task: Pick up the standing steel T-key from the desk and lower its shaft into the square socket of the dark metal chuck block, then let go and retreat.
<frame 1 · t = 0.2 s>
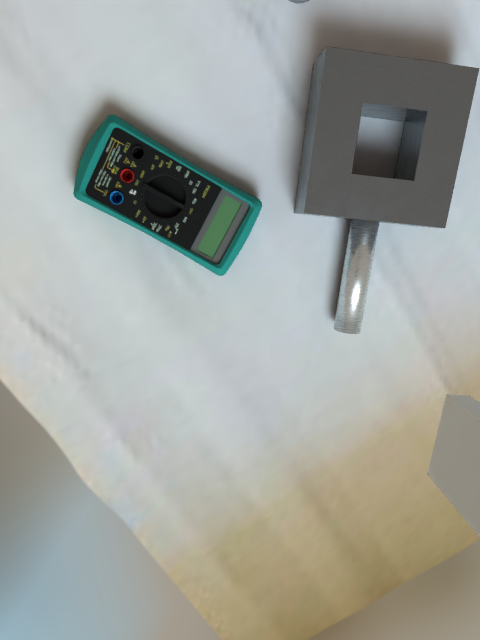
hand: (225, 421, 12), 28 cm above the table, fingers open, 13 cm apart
digital multimeter: (171, 200, 38), on the table
chuck block: (370, 149, 37), on the table
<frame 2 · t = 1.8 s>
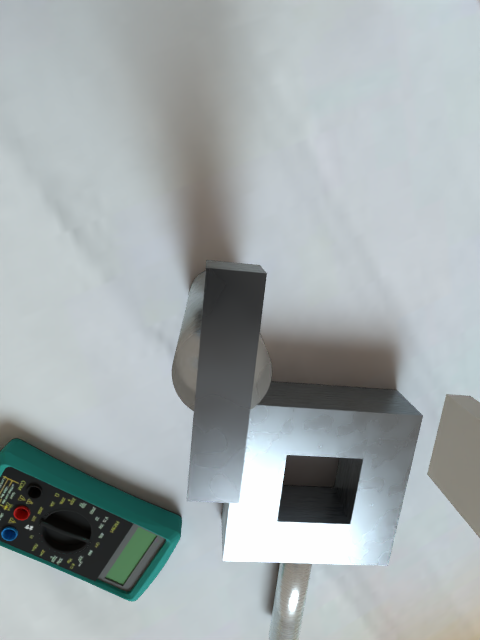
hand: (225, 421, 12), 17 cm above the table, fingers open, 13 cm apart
t key: (216, 294, 29), on the table
digital multimeter: (82, 508, 33), on the table
chuck block: (306, 456, 32), on the table
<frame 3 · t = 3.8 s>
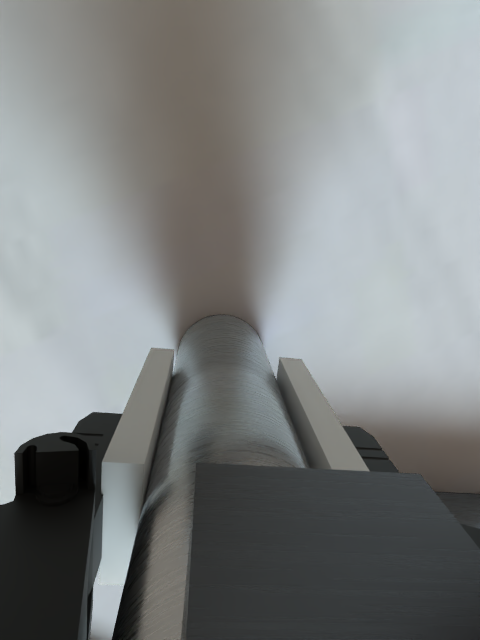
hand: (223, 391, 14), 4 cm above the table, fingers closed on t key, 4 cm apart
t key: (221, 356, 18), on the table, touching gripper
chuck block: (356, 591, 21), on the table
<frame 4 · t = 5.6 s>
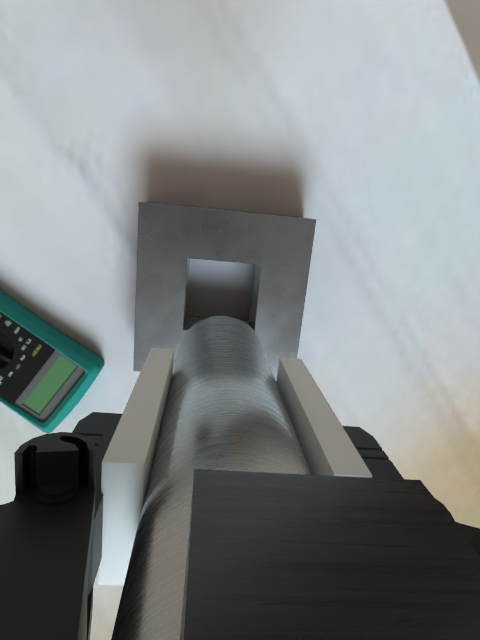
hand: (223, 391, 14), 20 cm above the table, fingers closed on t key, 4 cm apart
t key: (220, 357, 18), point 17 cm above the table, touching gripper
digital multimeter: (10, 340, 35), on the table
chuck block: (220, 287, 34), on the table
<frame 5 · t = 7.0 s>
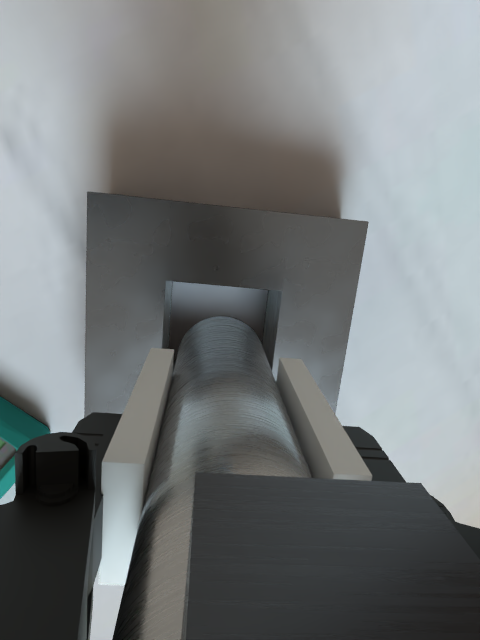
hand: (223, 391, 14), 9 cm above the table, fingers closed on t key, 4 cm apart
t key: (220, 357, 18), point 6 cm above the table, touching gripper
chuck block: (217, 319, 23), on the table
when the fingers open (5 cm above the table, at t = 7.9 s): t key drops 2 cm, resting in chuck block.
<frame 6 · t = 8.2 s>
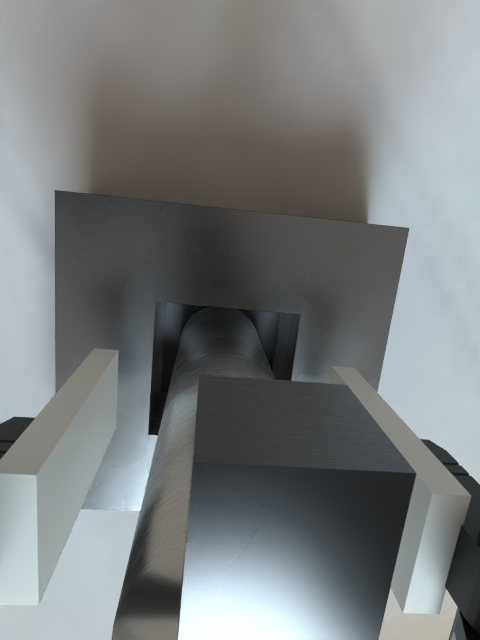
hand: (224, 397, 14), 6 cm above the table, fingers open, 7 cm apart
t key: (219, 343, 20), resting in chuck block
chuck block: (220, 343, 20), on the table
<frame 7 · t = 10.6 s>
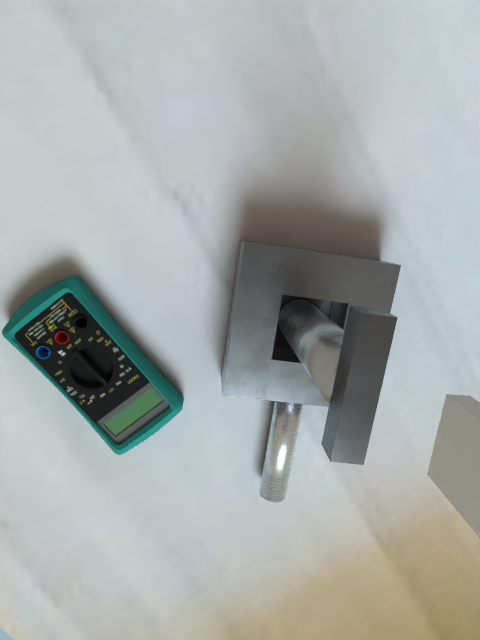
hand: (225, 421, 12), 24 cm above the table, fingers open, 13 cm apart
t key: (298, 320, 37), resting in chuck block
digital multimeter: (102, 361, 37), on the table
chuck block: (299, 319, 37), on the table
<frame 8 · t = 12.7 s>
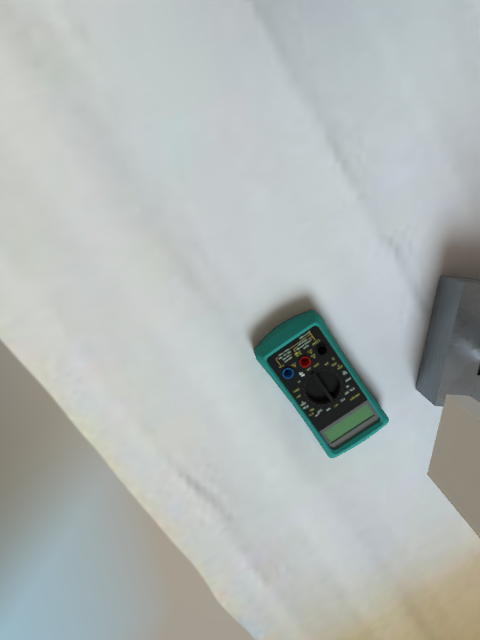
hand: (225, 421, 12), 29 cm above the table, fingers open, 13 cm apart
digital multimeter: (318, 380, 44), on the table
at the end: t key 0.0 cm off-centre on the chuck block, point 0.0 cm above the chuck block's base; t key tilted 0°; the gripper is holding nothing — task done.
